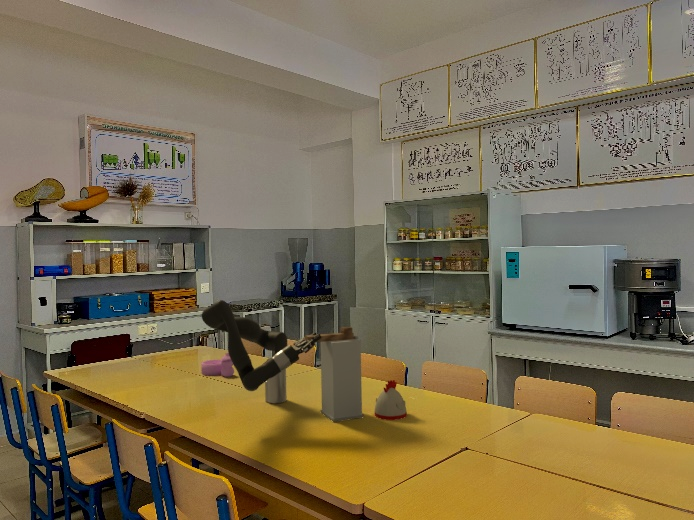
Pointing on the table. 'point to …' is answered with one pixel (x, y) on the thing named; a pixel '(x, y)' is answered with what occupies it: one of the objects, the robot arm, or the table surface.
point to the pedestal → (341, 379)
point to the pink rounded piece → (218, 366)
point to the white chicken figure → (390, 403)
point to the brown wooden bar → (335, 335)
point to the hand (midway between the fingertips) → (318, 334)
